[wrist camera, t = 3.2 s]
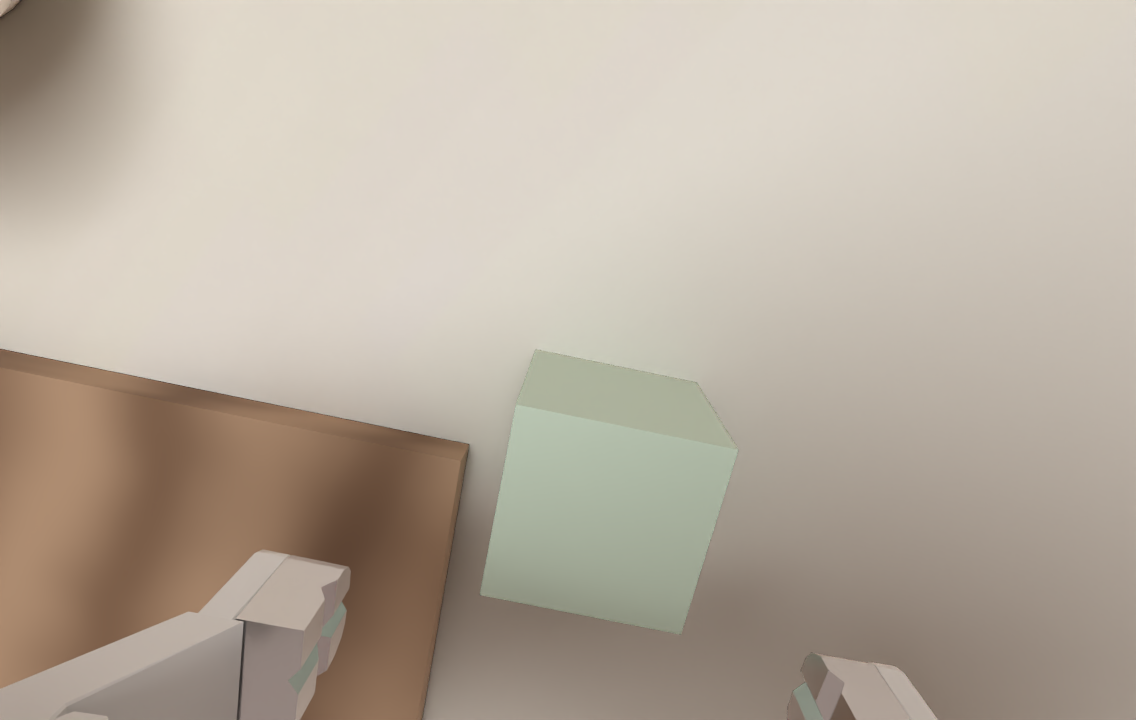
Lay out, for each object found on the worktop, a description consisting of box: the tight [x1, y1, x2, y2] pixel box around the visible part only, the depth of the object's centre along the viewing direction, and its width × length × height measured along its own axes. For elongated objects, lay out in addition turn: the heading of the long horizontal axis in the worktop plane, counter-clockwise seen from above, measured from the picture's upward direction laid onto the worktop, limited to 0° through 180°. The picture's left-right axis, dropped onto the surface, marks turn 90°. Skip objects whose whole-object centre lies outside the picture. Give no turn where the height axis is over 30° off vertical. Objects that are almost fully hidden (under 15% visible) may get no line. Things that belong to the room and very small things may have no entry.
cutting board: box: [0, 349, 469, 720], centre depth 19 cm, size 20×18×1 cm
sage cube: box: [480, 349, 739, 635], centre depth 15 cm, size 5×5×5 cm
